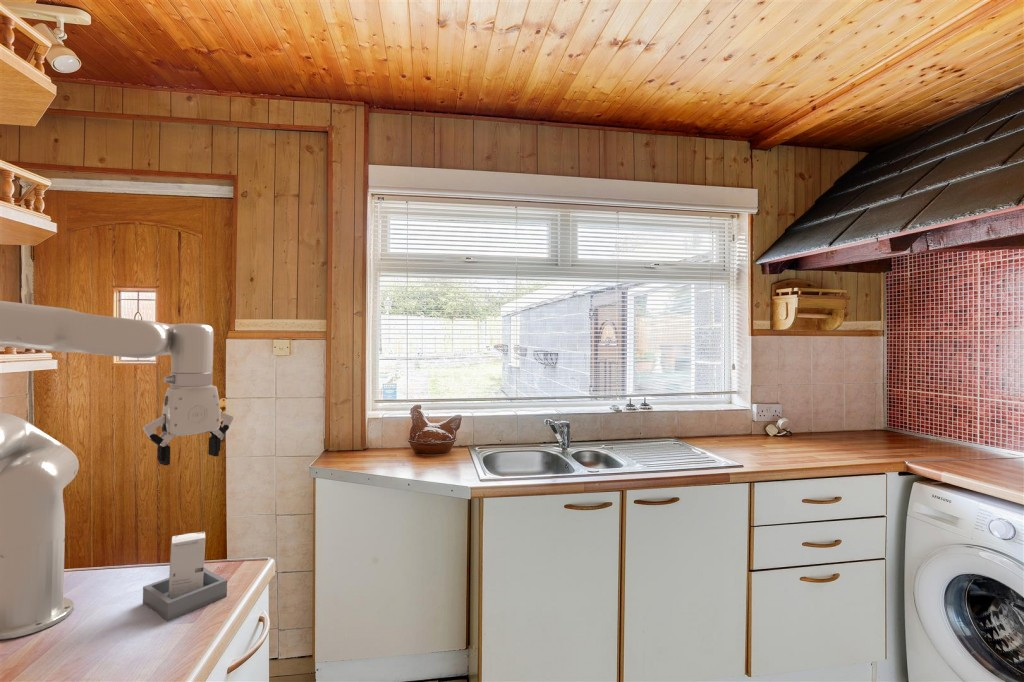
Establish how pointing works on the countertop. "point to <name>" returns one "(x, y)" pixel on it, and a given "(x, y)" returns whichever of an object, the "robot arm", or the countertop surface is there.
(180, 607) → the tray
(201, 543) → the skincare box
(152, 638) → the countertop surface
